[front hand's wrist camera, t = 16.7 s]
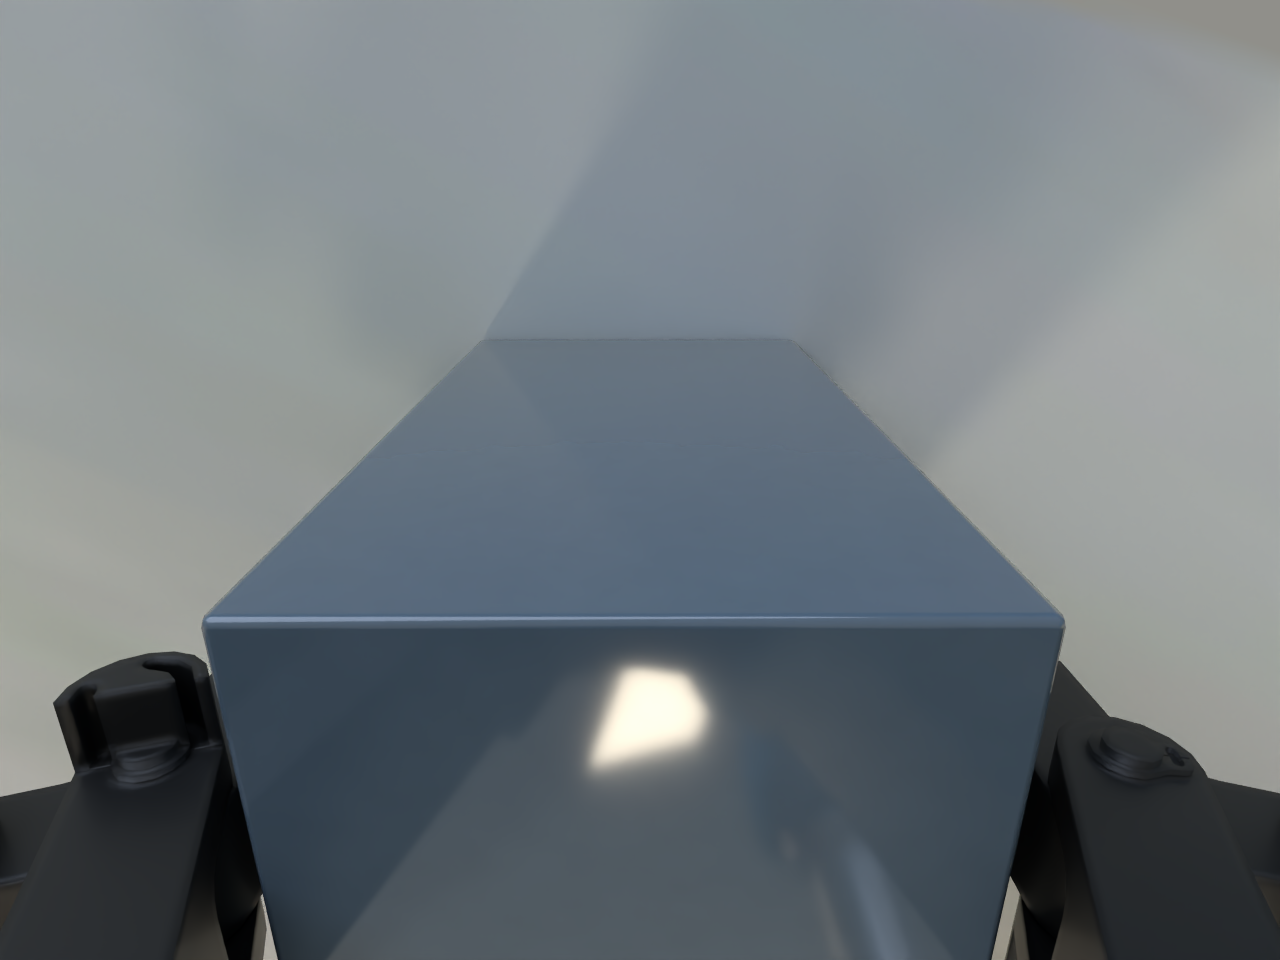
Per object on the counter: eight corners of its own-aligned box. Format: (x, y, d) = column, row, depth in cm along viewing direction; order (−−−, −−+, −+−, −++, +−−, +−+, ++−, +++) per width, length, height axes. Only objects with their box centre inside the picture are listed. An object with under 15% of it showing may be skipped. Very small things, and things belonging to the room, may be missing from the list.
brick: (794, 338, 15) (1074, 618, 5) (774, 630, 17) (943, 1192, 8) (480, 339, 15) (191, 620, 5) (500, 630, 17) (326, 1193, 8)
